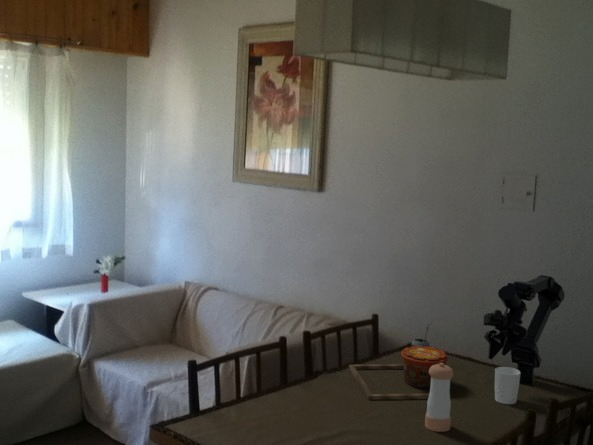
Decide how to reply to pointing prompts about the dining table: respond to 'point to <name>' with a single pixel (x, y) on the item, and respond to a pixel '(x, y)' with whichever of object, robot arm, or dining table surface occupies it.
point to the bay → (382, 396)
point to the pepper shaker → (439, 399)
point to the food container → (421, 364)
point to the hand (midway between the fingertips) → (496, 357)
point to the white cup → (506, 385)
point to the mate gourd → (421, 340)
